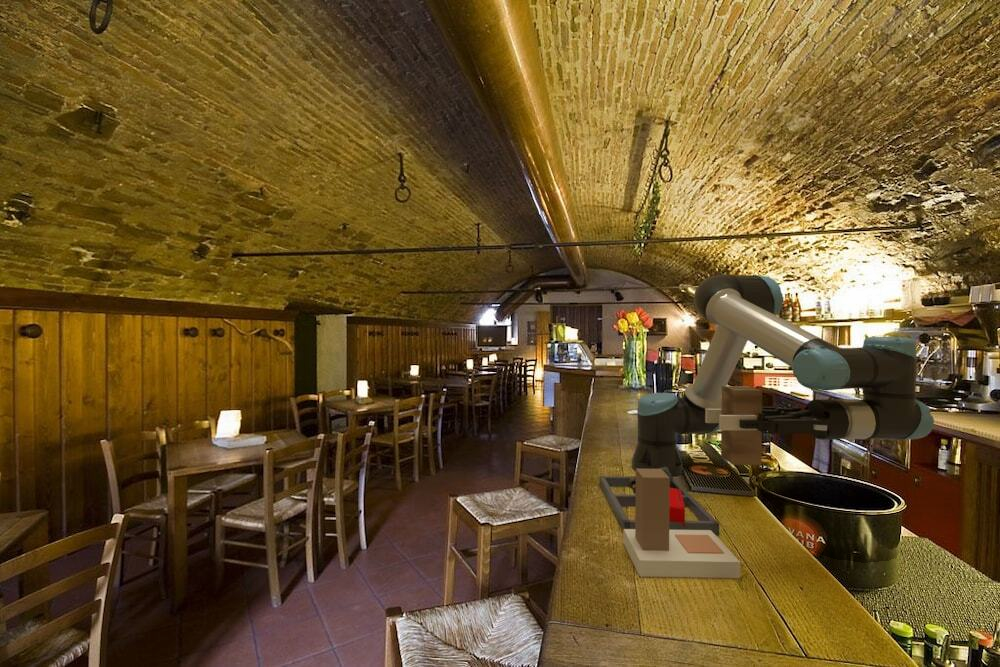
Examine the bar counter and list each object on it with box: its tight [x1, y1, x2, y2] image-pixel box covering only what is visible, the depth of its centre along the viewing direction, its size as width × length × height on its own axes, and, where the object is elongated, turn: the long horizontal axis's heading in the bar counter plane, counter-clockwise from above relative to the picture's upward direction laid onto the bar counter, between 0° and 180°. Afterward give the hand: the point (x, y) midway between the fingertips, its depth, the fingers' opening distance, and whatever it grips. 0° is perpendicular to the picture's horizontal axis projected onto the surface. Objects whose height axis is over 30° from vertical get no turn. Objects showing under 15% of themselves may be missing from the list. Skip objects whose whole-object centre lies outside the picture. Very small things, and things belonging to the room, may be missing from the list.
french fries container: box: [669, 488, 686, 528], centre depth 103 cm, size 7×9×14 cm
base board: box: [622, 469, 741, 579], centre depth 85 cm, size 12×18×17 cm, turn 88°
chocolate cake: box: [628, 467, 674, 495], centre depth 117 cm, size 10×7×12 cm
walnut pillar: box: [720, 385, 763, 466], centre depth 83 cm, size 5×5×14 cm
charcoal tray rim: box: [599, 475, 720, 536], centre depth 109 cm, size 29×20×2 cm
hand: (713, 419), depth 83 cm, fingers closed on walnut pillar, 5 cm apart
